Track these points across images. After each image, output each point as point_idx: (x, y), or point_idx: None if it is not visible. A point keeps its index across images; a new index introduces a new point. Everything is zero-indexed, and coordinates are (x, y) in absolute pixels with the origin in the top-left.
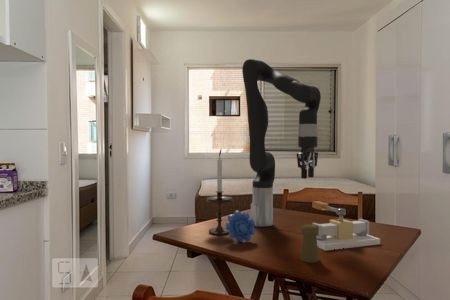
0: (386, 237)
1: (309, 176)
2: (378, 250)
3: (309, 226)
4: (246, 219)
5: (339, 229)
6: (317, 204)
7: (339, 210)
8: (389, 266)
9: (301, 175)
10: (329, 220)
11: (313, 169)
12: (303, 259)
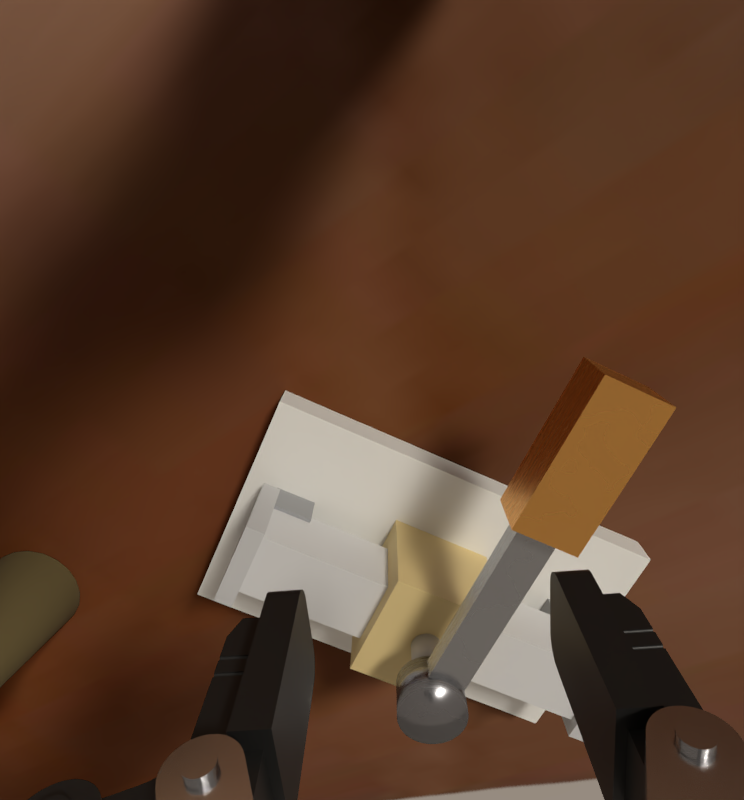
0: (696, 676)
1: (553, 600)
2: None
3: None
4: None
5: (353, 638)
6: (547, 455)
7: (397, 714)
8: None
9: (227, 643)
10: (397, 579)
11: (625, 794)
12: None
